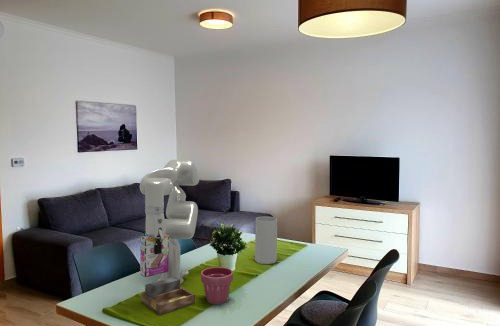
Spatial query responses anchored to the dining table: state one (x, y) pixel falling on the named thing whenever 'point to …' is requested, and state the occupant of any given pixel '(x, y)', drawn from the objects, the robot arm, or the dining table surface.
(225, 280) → the plant pot
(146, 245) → the candy bar box
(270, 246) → the cylinder vase
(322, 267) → the dining table surface
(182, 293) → the tray
